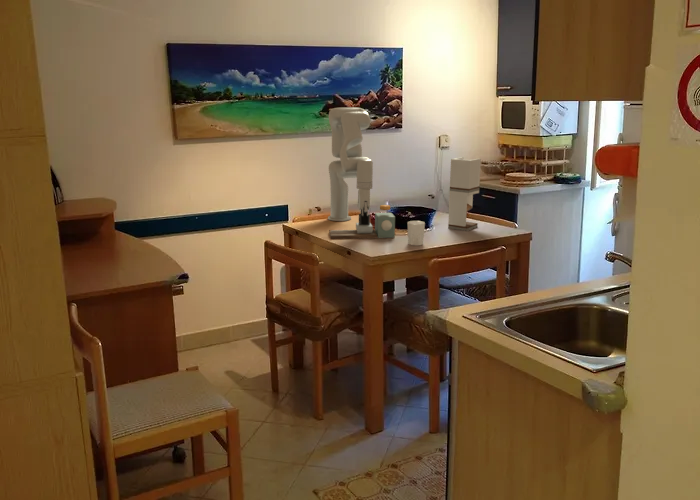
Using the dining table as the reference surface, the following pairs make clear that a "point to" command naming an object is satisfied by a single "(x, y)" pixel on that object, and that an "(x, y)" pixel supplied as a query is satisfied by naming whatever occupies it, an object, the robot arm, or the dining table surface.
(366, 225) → the carriage
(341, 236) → the rail board
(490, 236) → the dining table surface
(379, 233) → the pale green block
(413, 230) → the white cup
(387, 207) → the button
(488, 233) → the dining table surface
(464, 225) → the coffee grinder
